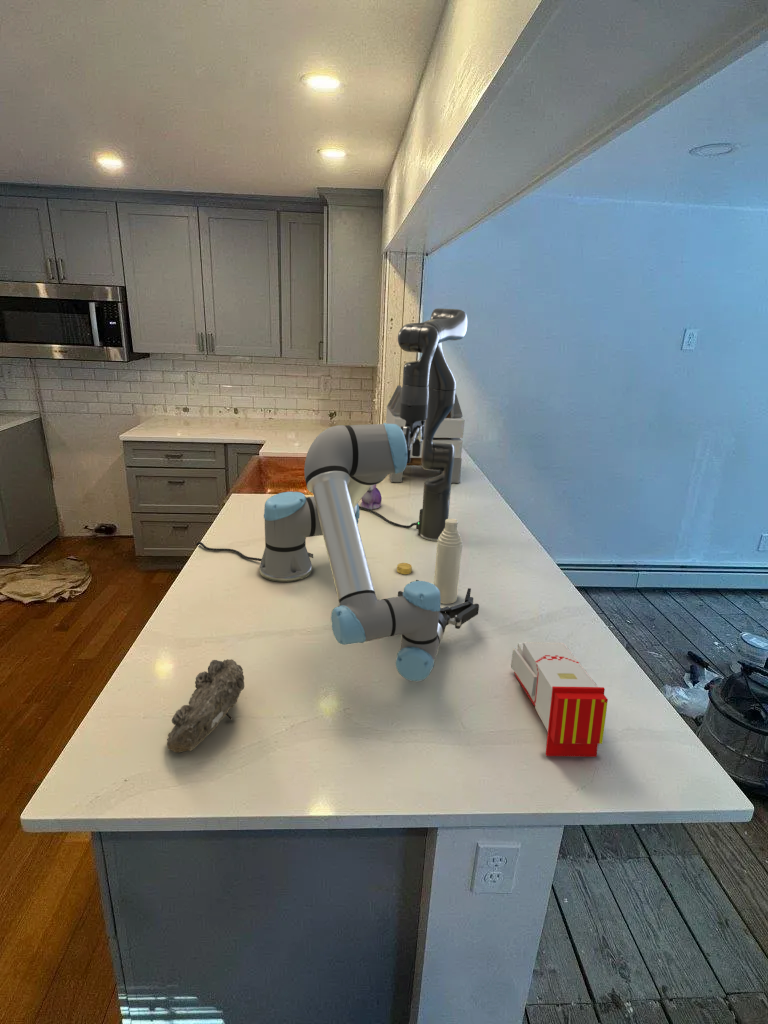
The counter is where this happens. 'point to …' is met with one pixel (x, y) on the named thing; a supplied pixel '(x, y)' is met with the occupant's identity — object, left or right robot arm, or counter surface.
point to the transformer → (445, 433)
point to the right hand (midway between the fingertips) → (411, 459)
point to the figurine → (371, 498)
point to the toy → (562, 697)
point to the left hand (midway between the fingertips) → (442, 588)
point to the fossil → (206, 705)
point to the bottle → (448, 562)
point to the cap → (404, 568)
